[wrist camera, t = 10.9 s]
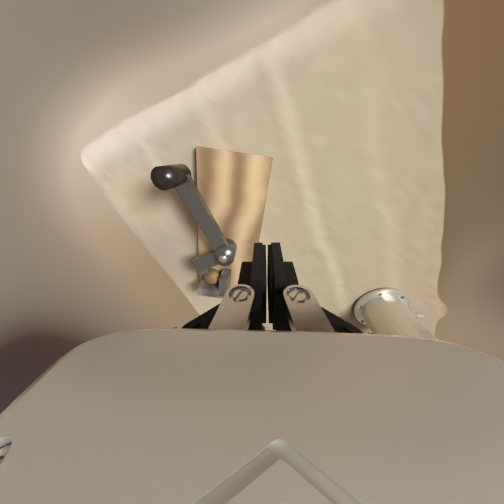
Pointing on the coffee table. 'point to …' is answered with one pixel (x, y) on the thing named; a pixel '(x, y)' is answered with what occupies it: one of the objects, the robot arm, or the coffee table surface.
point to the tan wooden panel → (232, 207)
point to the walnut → (212, 276)
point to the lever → (197, 216)
